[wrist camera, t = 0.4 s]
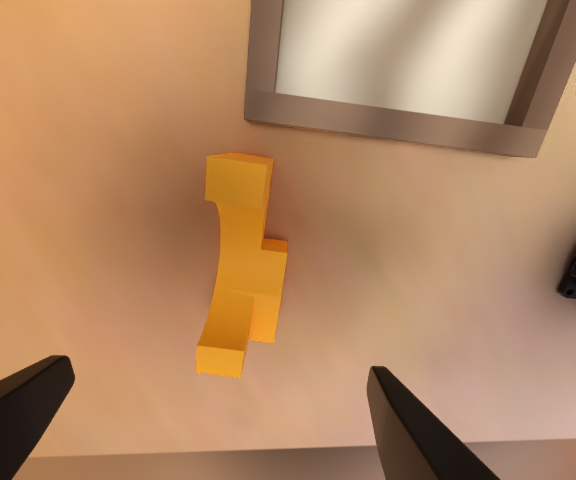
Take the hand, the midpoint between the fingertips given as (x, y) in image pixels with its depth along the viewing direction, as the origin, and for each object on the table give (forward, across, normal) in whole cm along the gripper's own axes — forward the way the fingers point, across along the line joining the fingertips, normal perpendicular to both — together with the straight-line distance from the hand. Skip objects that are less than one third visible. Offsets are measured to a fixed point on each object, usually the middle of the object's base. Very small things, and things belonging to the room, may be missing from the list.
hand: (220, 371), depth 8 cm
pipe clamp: (+12, 0, 0) cm, 12 cm away
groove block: (+12, -8, -12) cm, 19 cm away
